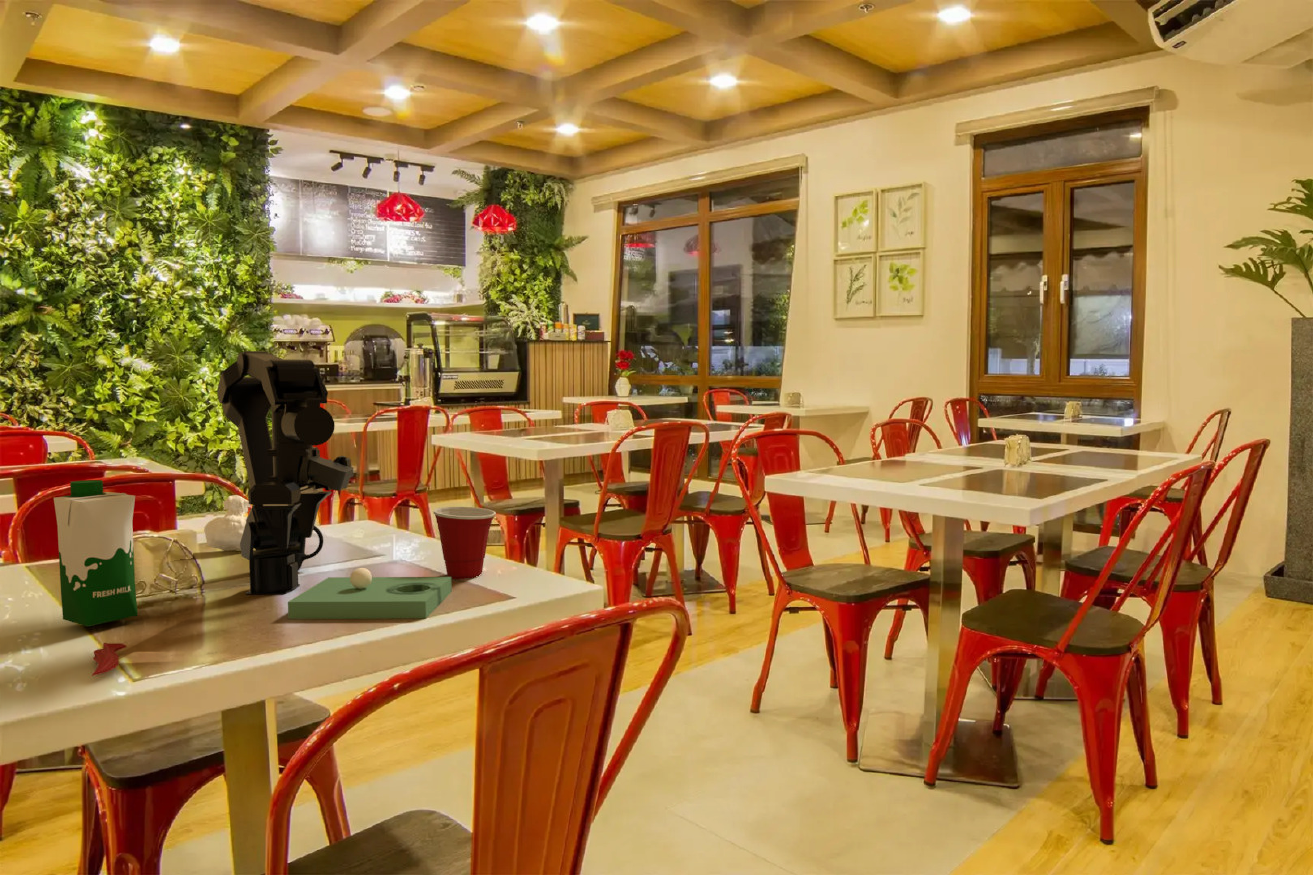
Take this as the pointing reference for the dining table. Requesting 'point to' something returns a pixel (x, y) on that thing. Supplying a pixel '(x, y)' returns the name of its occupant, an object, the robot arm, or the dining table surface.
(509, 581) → the dining table surface
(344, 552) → the dining table surface
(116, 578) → the milk carton
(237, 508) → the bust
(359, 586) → the ball
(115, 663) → the cayenne pepper
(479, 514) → the plastic cup
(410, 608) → the putting mat
